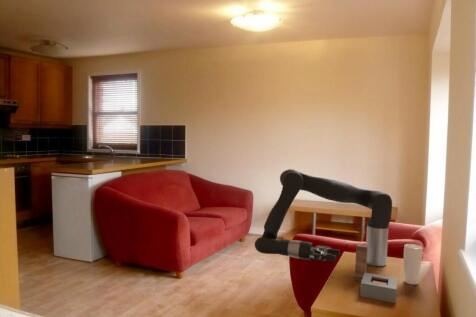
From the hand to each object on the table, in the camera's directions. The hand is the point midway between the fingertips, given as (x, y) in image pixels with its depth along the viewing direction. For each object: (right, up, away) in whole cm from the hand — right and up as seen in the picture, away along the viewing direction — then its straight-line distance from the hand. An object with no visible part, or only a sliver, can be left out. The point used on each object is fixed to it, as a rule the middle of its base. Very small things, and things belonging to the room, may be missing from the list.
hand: (337, 255), depth 161 cm
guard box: (+11, -10, -18) cm, 23 cm away
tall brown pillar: (+8, -9, -3) cm, 13 cm away
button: (+11, -8, -18) cm, 22 cm away
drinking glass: (+28, -10, -6) cm, 30 cm away
